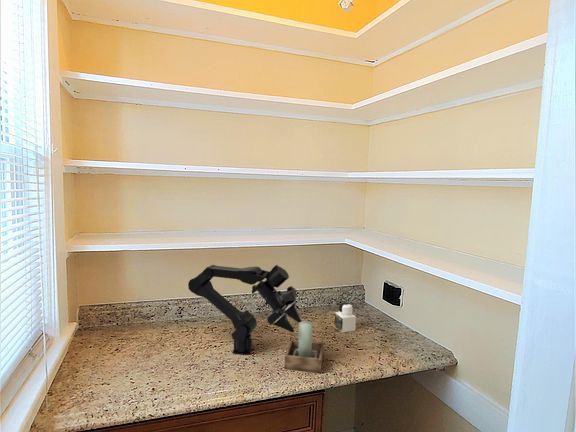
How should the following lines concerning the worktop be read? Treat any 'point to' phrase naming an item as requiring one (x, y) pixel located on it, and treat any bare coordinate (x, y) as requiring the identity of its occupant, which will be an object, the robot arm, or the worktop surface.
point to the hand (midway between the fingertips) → (297, 326)
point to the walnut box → (304, 358)
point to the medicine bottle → (345, 318)
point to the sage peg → (305, 339)
